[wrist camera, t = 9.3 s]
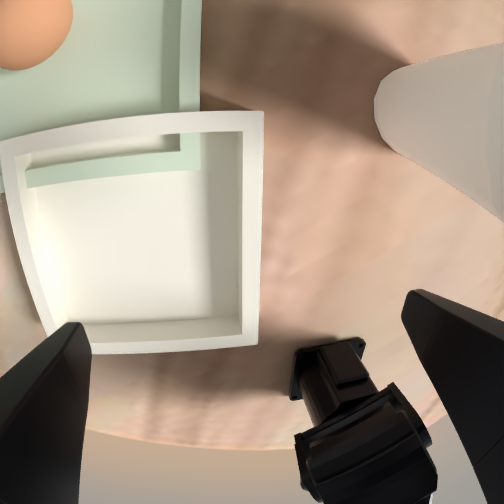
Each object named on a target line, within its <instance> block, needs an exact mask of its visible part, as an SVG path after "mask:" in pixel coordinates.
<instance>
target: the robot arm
mask: <svg viewBox="0 0 504 504" xmlns="http://www.w3.org/2000/svg"><path fill="white" fill-rule="evenodd" d="M401 319H402V322H403V324H404V326H405V329H406V331H407V333H408V335H409V337H410V340H411V342H412V344H413V346H414V349H415V351H416V353H417V355H418V357H419V360H420V362H421V363H422V365H423V367H424V369H425V371H426V373H427V375H428V376H429V378H430V380H431V382H432V384H433V386H434V388H435V389H436V391H437V393H438V395H439V397H440V399H441V401H442V403H443V405H444V407H445V409H446V411H447V413H448V415H449V417H450V419H451V421H452V423H453V425H454V427H455V429H456V431H457V433H458V435H459V437H460V440H461V442H462V444H463V446H464V448H465V450H466V452H467V455H468V457H469V459H470V461H471V464H472V466H473V469H474V471H475V473H476V476H477V478H478V481H479V483H480V486H481V488H482V491H483V493H484V496H485V498H486V501H487V504H504V322H503V321H501V320H498V319H496V318H493V317H491V316H489V315H486V314H484V313H481V312H479V311H476V310H474V309H471V308H469V307H466V306H464V305H461V304H459V303H456V302H454V301H451V300H448V299H446V298H443V297H441V296H438V295H436V294H433V293H431V292H428V291H425V290H423V289H416V290H411V291H409V292H408V294H407V296H406V300H405V303H404V306H403V310H402V313H401ZM365 345H366V342H365V341H364V339H356V340H350V341H345V342H340V343H334V344H329V345H323V346H317V347H311V348H305V349H300V350H298V351H296V352H295V355H294V362H293V369H292V376H291V383H290V390H289V398H290V400H292V401H295V400H300V399H303V400H304V402H305V405H306V407H307V410H308V412H309V415H310V417H311V420H312V423H313V425H314V427H313V428H311V429H309V430H307V431H305V432H303V433H298V434H296V435H294V438H295V443H296V444H295V450H296V455H297V460H298V465H299V470H300V479H301V480H300V482H301V483H300V484H301V487H302V489H303V490H306V491H309V492H310V494H311V495H312V497H313V498H314V499H315V500H316V501H317V502H319V503H321V502H323V503H324V504H431V503H432V498H433V493H434V491H436V489H437V479H438V475H437V472H436V467H435V465H434V463H433V461H432V459H431V457H430V455H429V453H428V451H427V449H426V448H427V447H429V446H431V445H432V440H431V437H430V435H429V433H428V431H427V429H426V427H425V425H424V423H423V421H422V420H421V418H420V416H419V415H418V413H417V412H416V411H415V409H414V408H413V407H412V405H411V404H410V403H409V402H408V400H407V399H406V398H405V396H404V395H403V394H402V393H401V391H400V390H399V389H398V387H397V386H396V385H395V384H394V382H392V383H391V384H389V385H387V387H386V388H385V389H383V390H381V391H380V392H379V391H378V390H377V388H376V386H375V385H374V383H373V381H372V380H371V378H370V377H369V373H368V371H367V369H366V368H365V366H364V365H363V363H362V361H361V358H362V355H363V352H364V349H365ZM300 355H301V356H300ZM91 358H92V350H91V346H90V343H89V340H88V337H87V334H86V332H85V329H84V326H83V324H82V323H81V322H66V323H65V324H64V325H62V326H61V327H60V328H59V329H57V330H56V331H55V332H54V333H53V334H51V335H50V336H49V337H48V338H46V339H45V340H44V341H43V342H42V343H40V344H39V345H38V346H37V347H36V348H34V349H33V350H32V351H31V352H30V353H28V354H27V355H26V356H25V357H24V358H23V359H21V360H20V361H19V362H18V363H17V364H16V365H14V366H13V367H12V368H11V369H10V370H9V371H8V372H6V373H5V374H4V375H3V376H2V377H1V378H0V504H78V499H79V483H80V470H81V459H82V449H83V441H84V432H85V425H86V418H87V411H88V402H89V385H90V370H91Z"/></svg>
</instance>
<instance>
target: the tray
mask: <svg viewBox="0 0 504 504" xmlns="http://www.w3.org/2000/svg"><path fill="white" fill-rule="evenodd" d="M71 2H72V5H73V20H72V25H71V28H70V31H69V33H68V35H67V37H66V39H65V40H64V42H63V43H62V45H61V46H60V47H59V49H58V50H57V51H56V52H55V53H54V54H53V55H52V56H51V57H49V58H48V59H47V60H45V61H44V62H42V63H40V64H38V65H36V66H34V67H31V68H28V69H24V70H7V69H3V68H1V67H0V141H4V140H8V139H11V138H15V137H19V136H23V135H27V134H32V133H36V132H40V131H45V130H50V129H55V128H60V127H65V126H70V125H76V124H82V123H88V122H94V121H101V120H108V119H116V118H124V117H132V116H142V115H152V114H165V113H180V112H200V43H201V12H202V0H71ZM184 170H201V162H200V132H195V133H180V149H175V150H161V151H149V152H138V153H128V154H119V155H110V156H102V157H94V158H87V159H80V160H73V161H67V162H61V163H55V164H49V165H43V166H38V167H33V168H30V169H28V170H26V171H25V177H26V184H27V188H33V187H39V186H45V185H51V184H58V183H65V182H72V181H79V180H87V179H95V178H104V177H113V176H122V175H133V174H144V173H156V172H169V171H184ZM0 193H5V188H4V182H3V175H2V168H1V160H0Z"/></svg>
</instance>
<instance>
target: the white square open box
mask: <svg viewBox="0 0 504 504" xmlns="http://www.w3.org/2000/svg"><path fill="white" fill-rule="evenodd" d="M195 132H200V162H201V170H184V171H169V172H156V173H144V174H133V175H122V176H113V177H104V178H95V179H87V180H79V181H72V182H65V183H58V184H51V185H45V186H39V187H33V188H27V184H26V177H25V171H26V170H28V169H30V168H33V167H38V166H43V165H49V164H55V163H61V162H67V161H73V160H80V159H87V158H94V157H102V156H110V155H119V154H128V153H138V152H149V151H161V150H175V149H180V133H195ZM263 143H264V111H200V112H180V113H165V114H152V115H142V116H132V117H124V118H116V119H108V120H101V121H94V122H88V123H82V124H76V125H70V126H65V127H60V128H55V129H50V130H45V131H40V132H36V133H32V134H27V135H23V136H19V137H15V138H11V139H8V140H4V141H0V160H1V168H2V175H3V182H4V188H5V194H6V200H7V205H8V210H9V215H10V220H11V224H12V229H13V233H14V237H15V241H16V245H17V249H18V253H19V256H20V260H21V263H22V267H23V270H24V273H25V277H26V280H27V283H28V286H29V289H30V292H31V295H32V298H33V300H34V303H35V306H36V309H37V311H38V314H39V317H40V319H41V322H42V324H43V327H44V329H45V332H46V334H47V336H48V337H49V336H50V335H51V334H53V333H54V332H55V331H56V330H57V329H59V328H60V327H61V326H62V325H64V324H65V323H66V322H81V323H82V324H83V326H84V329H85V332H86V334H87V337H88V340H89V343H90V346H91V350H92V354H137V353H162V352H179V351H194V350H207V349H219V348H229V347H239V346H249V345H257V344H258V324H259V293H260V260H261V225H262V186H263Z"/></svg>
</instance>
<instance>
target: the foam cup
mask: <svg viewBox="0 0 504 504" xmlns="http://www.w3.org/2000/svg"><path fill="white" fill-rule="evenodd" d="M374 120H375V122H376V125H377V127H378V130H379V132H380V135H381V137H382V139H383V140H384V141H385V142H386V143H387V144H388V145H389V146H390V147H391V148H392V149H393V150H394V151H395V152H398V153H399V154H400V155H402V156H404V157H405V158H407V159H409V160H411V161H412V162H414V163H416V164H417V165H419V166H421V167H423V168H424V169H426V170H428V171H429V172H431V173H432V174H434V175H436V176H437V177H439V178H440V179H442V180H444V181H445V182H447V183H448V184H450V185H451V186H453V187H454V188H456V189H457V190H459V191H460V192H462V193H463V194H465V195H466V196H468V197H469V198H471V199H472V200H474V201H475V202H476V203H478V204H479V205H481V206H482V207H483V208H485V209H486V210H487V211H489V212H490V213H492V214H493V215H494V216H496V217H497V218H498V219H499V220H501V221H502V222H503V224H504V43H501V44H495V45H490V46H485V47H480V48H475V49H470V50H466V51H461V52H457V53H453V54H449V55H445V56H441V57H437V58H433V59H429V60H426V61H422V62H418V63H415V64H411V65H408V66H405V67H401V68H398V69H397V70H393V71H392V72H391V73H390V74H388V75H387V76H386V77H385V78H384V79H382V80H381V82H380V84H379V87H378V90H377V92H376V95H375V97H374Z"/></svg>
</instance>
